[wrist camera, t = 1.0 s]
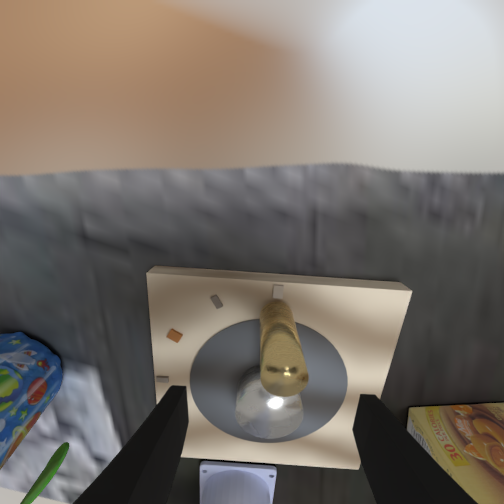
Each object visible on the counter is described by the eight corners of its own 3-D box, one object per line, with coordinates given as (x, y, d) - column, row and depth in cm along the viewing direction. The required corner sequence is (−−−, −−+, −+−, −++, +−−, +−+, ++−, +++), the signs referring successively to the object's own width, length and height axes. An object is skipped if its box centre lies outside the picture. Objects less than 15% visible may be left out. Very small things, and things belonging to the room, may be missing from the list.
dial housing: (352, 452, 24) (359, 472, 22) (166, 438, 24) (160, 457, 22) (400, 282, 18) (414, 292, 16) (155, 265, 18) (145, 274, 16)
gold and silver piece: (294, 413, 20) (308, 501, 15) (236, 409, 20) (228, 495, 15) (312, 302, 17) (338, 362, 11) (242, 297, 17) (235, 355, 11)
